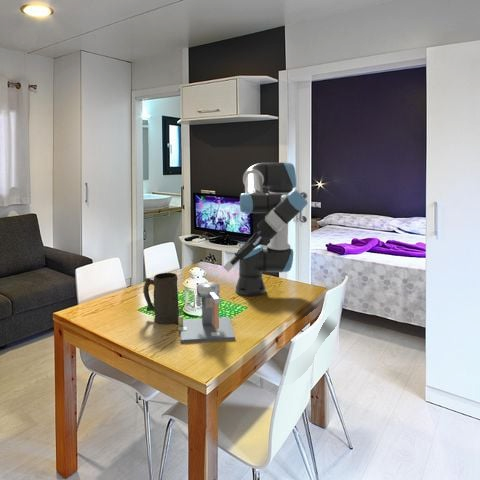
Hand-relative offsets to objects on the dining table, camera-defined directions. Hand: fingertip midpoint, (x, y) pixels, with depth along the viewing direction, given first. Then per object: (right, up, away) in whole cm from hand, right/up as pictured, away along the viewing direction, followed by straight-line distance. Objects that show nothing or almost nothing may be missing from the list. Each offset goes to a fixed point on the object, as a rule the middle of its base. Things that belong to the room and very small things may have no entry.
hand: (225, 268), depth 155 cm
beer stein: (-27, -23, +19) cm, 40 cm away
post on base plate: (-8, -25, +7) cm, 27 cm away
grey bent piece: (-6, -20, +6) cm, 22 cm away
